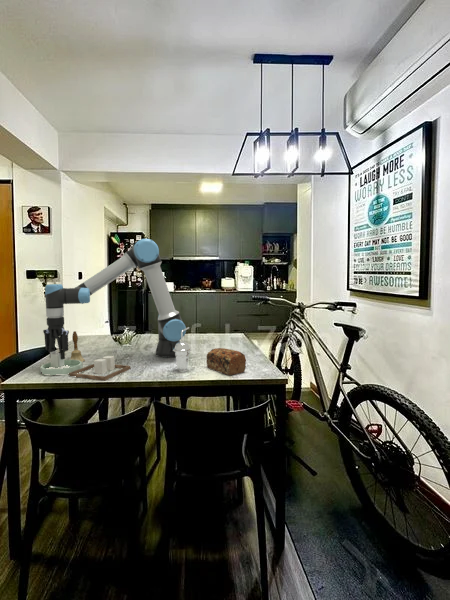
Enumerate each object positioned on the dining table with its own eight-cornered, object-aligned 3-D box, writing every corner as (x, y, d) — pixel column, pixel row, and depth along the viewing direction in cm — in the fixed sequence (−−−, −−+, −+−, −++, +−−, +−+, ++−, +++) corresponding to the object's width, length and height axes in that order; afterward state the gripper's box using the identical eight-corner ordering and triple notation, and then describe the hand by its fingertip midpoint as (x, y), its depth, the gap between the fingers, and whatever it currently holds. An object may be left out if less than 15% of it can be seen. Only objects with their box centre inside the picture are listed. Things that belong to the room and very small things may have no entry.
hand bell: (78, 363, 182) (77, 333, 181) (64, 363, 184) (62, 332, 183) (88, 359, 191) (86, 330, 189) (74, 359, 192) (72, 329, 191)
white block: (107, 371, 168) (106, 359, 167) (102, 374, 164) (101, 361, 163) (99, 371, 169) (98, 358, 168) (94, 373, 165) (94, 360, 164)
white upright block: (114, 368, 174) (114, 356, 173) (111, 370, 170) (110, 358, 169) (107, 368, 174) (106, 355, 174) (103, 370, 170) (102, 357, 170)
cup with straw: (170, 369, 170) (169, 328, 168) (188, 366, 174) (187, 326, 173) (177, 374, 162) (176, 330, 161) (195, 371, 167) (194, 328, 165)
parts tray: (130, 368, 172) (130, 365, 172) (104, 380, 154) (104, 377, 154) (97, 365, 178) (97, 362, 178) (68, 376, 161) (68, 373, 161)
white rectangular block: (63, 365, 172) (63, 353, 171) (56, 367, 168) (56, 355, 168) (57, 364, 173) (57, 352, 173) (50, 366, 170) (50, 354, 169)
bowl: (89, 367, 176) (89, 361, 175) (62, 377, 159) (62, 371, 159) (61, 364, 181) (61, 358, 181) (32, 374, 165) (32, 367, 165)
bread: (246, 372, 164) (246, 351, 163) (227, 376, 158) (227, 354, 157) (223, 364, 179) (223, 344, 179) (205, 367, 173) (205, 347, 172)
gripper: (75, 316, 169) (77, 364, 171) (47, 315, 175) (49, 362, 177) (63, 318, 162) (65, 369, 164) (34, 317, 168) (37, 365, 170)
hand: (57, 365), depth 171 cm, fingers closed on white rectangular block, 4 cm apart
